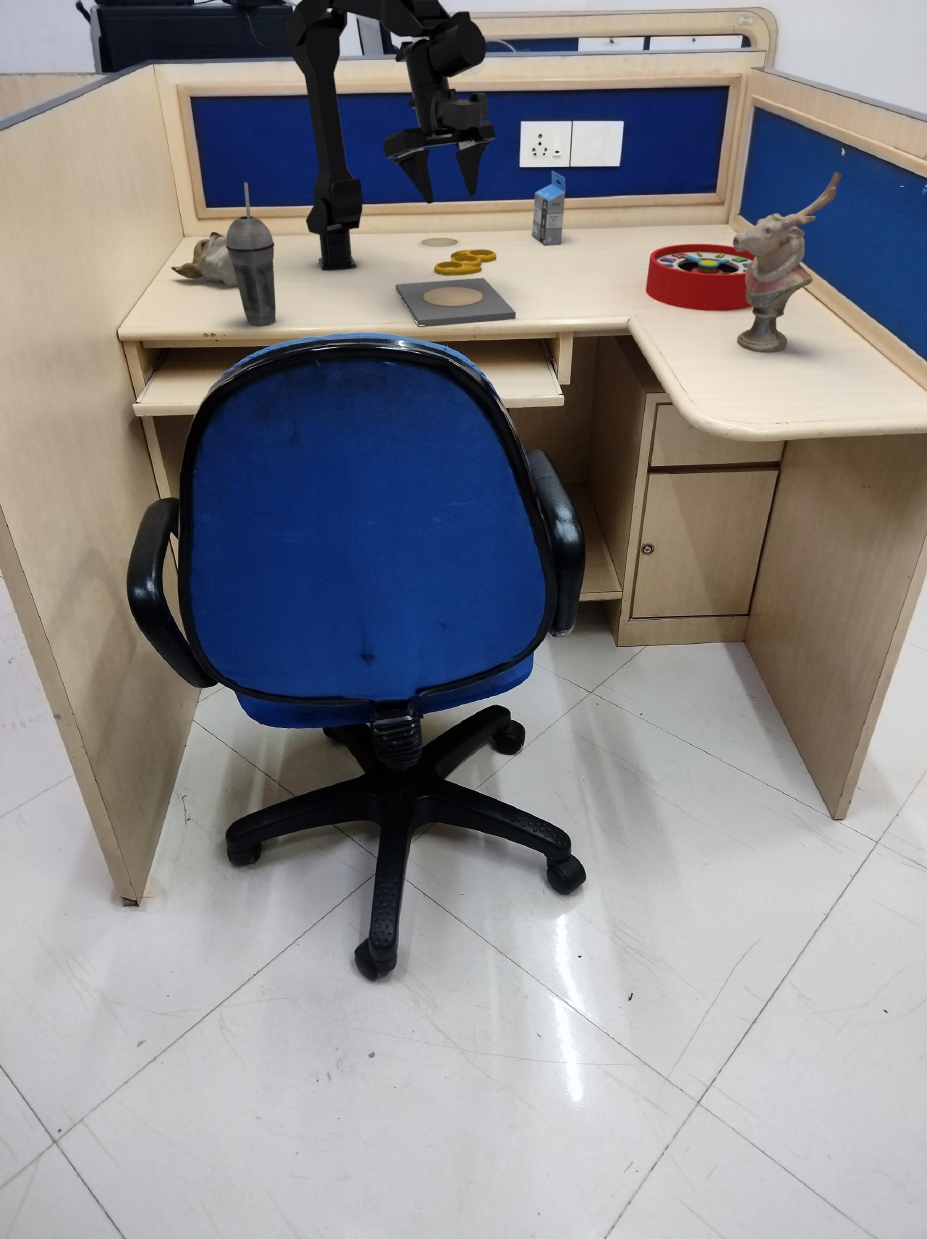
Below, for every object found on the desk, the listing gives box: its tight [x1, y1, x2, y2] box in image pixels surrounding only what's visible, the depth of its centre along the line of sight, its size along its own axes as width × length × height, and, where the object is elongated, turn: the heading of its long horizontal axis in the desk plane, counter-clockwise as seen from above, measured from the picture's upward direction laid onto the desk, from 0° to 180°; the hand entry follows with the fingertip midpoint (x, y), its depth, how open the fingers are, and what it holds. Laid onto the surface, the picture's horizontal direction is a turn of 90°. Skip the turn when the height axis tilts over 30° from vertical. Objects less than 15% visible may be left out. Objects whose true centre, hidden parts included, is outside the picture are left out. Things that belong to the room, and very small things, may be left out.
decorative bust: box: [732, 171, 843, 353], centre depth 119 cm, size 11×12×24 cm
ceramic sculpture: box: [170, 231, 238, 287], centre depth 152 cm, size 11×9×15 cm
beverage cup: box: [225, 182, 277, 327], centre depth 130 cm, size 7×7×20 cm
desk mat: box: [395, 277, 517, 327], centre depth 142 cm, size 20×16×1 cm
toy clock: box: [645, 243, 755, 312], centre depth 146 cm, size 20×6×20 cm
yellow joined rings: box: [433, 248, 497, 277], centre depth 162 cm, size 17×2×10 cm
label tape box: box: [531, 170, 566, 246], centre depth 173 cm, size 9×4×12 cm, turn 14°
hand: (452, 199), depth 134 cm, fingers open, 9 cm apart
